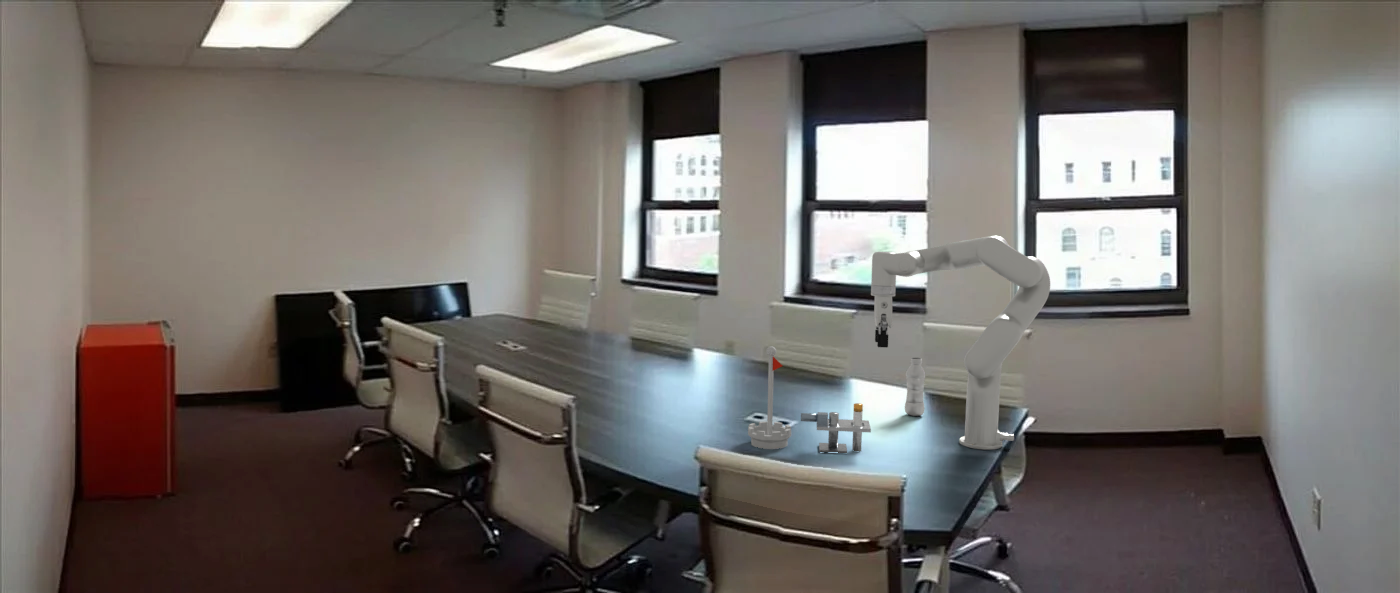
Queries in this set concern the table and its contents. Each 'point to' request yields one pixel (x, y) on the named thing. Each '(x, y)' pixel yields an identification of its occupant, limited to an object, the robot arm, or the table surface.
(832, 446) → the plate with square hole
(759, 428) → the flag stand
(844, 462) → the table surface
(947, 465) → the table surface
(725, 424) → the table surface
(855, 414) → the pin
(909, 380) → the plastic bottle
